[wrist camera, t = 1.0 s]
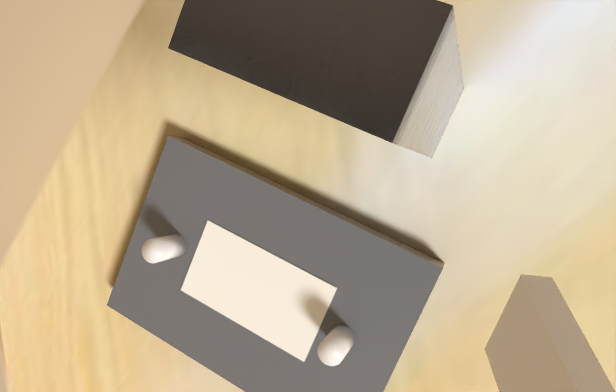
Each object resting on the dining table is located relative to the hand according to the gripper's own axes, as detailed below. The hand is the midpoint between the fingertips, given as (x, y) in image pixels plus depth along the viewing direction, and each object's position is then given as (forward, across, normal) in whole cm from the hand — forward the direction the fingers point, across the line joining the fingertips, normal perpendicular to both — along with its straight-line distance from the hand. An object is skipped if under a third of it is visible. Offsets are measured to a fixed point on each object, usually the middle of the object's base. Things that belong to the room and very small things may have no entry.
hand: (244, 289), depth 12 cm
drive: (+18, +6, -2) cm, 19 cm away
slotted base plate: (+14, 0, -13) cm, 19 cm away
